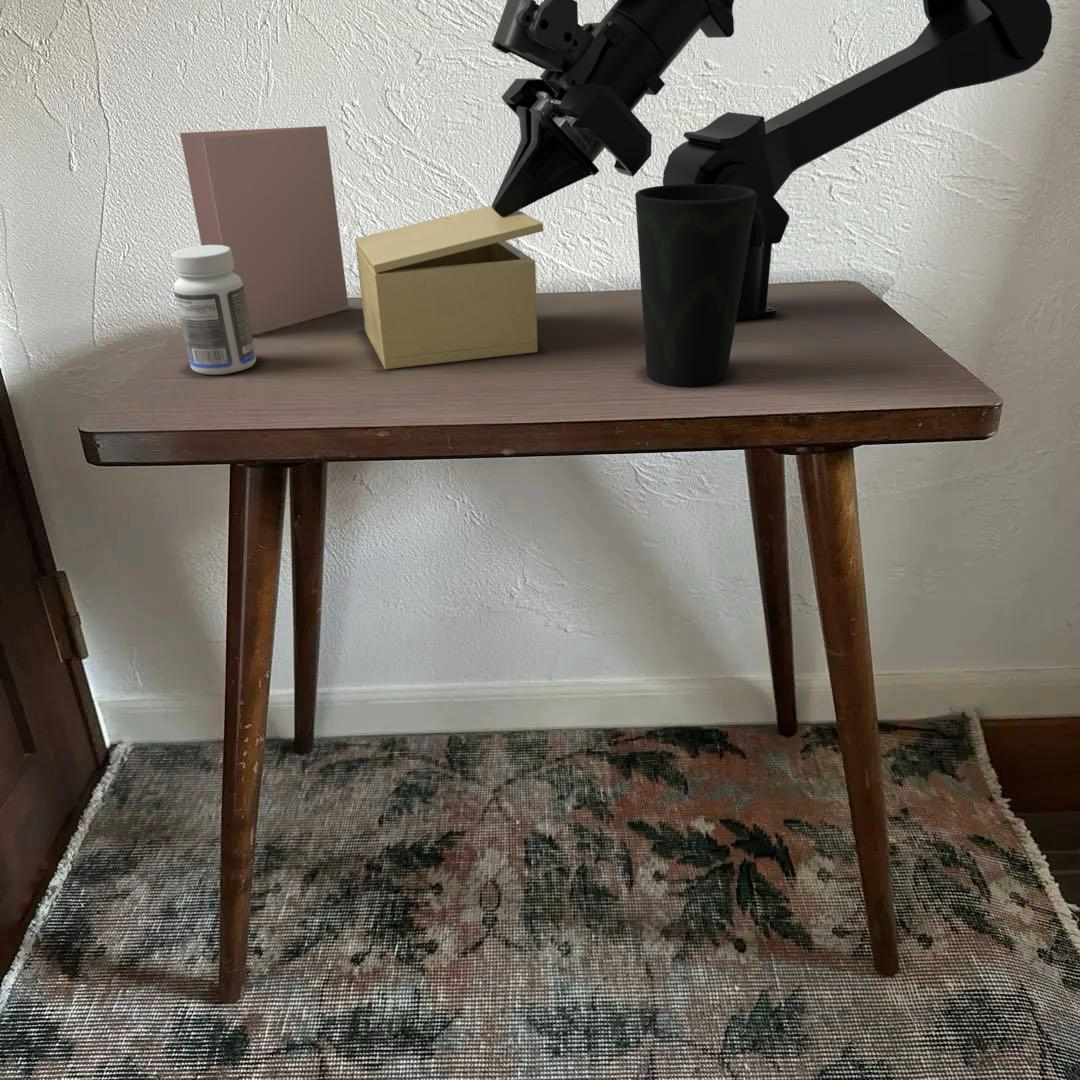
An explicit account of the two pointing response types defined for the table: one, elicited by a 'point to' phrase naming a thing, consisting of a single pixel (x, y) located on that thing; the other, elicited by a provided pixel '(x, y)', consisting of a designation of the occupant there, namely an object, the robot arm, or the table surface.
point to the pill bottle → (213, 310)
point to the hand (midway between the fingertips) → (497, 212)
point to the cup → (691, 277)
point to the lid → (443, 237)
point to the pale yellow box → (451, 307)
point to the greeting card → (271, 218)
